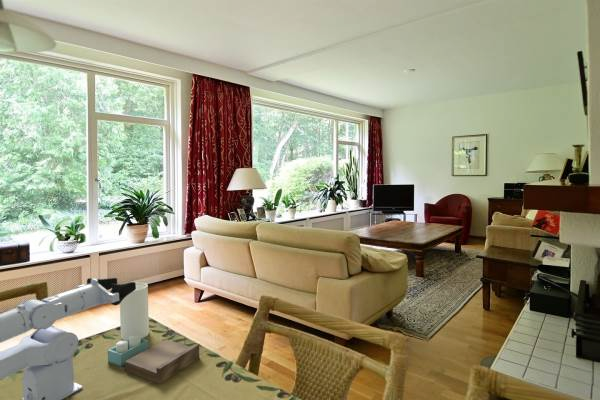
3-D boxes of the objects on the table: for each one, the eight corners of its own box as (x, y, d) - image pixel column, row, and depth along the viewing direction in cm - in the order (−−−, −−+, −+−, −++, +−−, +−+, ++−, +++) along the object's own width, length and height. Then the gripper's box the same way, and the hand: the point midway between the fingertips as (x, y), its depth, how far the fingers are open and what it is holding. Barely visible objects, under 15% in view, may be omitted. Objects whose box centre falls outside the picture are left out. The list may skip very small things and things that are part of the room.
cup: (153, 329, 119) (152, 283, 117) (140, 341, 111) (138, 291, 109) (130, 328, 120) (128, 281, 118) (115, 340, 111) (113, 290, 110)
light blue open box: (121, 367, 97) (120, 349, 96) (108, 361, 99) (107, 344, 98) (148, 351, 105) (148, 335, 104) (136, 347, 107) (135, 331, 106)
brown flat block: (160, 383, 89) (159, 368, 89) (125, 370, 95) (124, 355, 95) (199, 357, 102) (199, 344, 101) (166, 347, 108) (166, 334, 107)
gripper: (94, 289, 85) (142, 273, 97) (58, 280, 91) (107, 266, 103) (96, 317, 86) (143, 298, 98) (60, 306, 92) (109, 289, 104)
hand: (125, 283), depth 101 cm, fingers open, 7 cm apart
